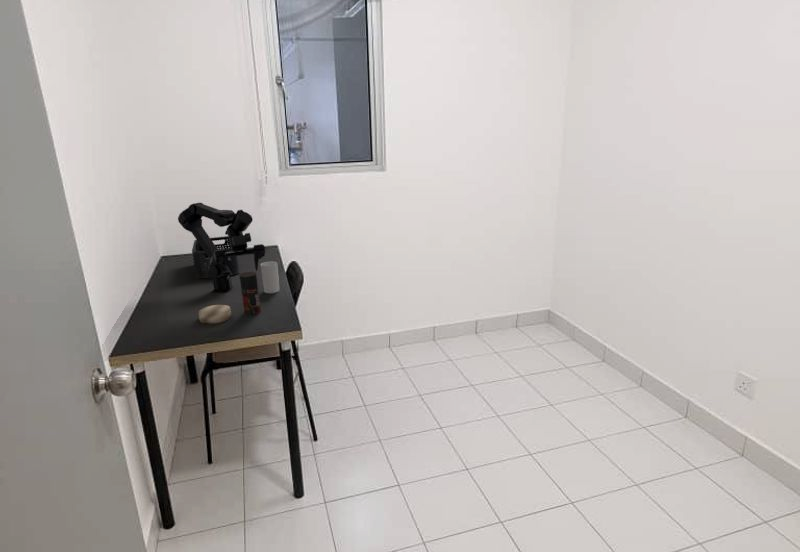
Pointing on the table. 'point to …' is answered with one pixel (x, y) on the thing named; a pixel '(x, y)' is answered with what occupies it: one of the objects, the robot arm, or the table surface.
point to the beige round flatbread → (214, 314)
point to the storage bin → (202, 258)
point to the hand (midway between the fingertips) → (244, 272)
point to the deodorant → (250, 293)
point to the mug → (270, 277)
